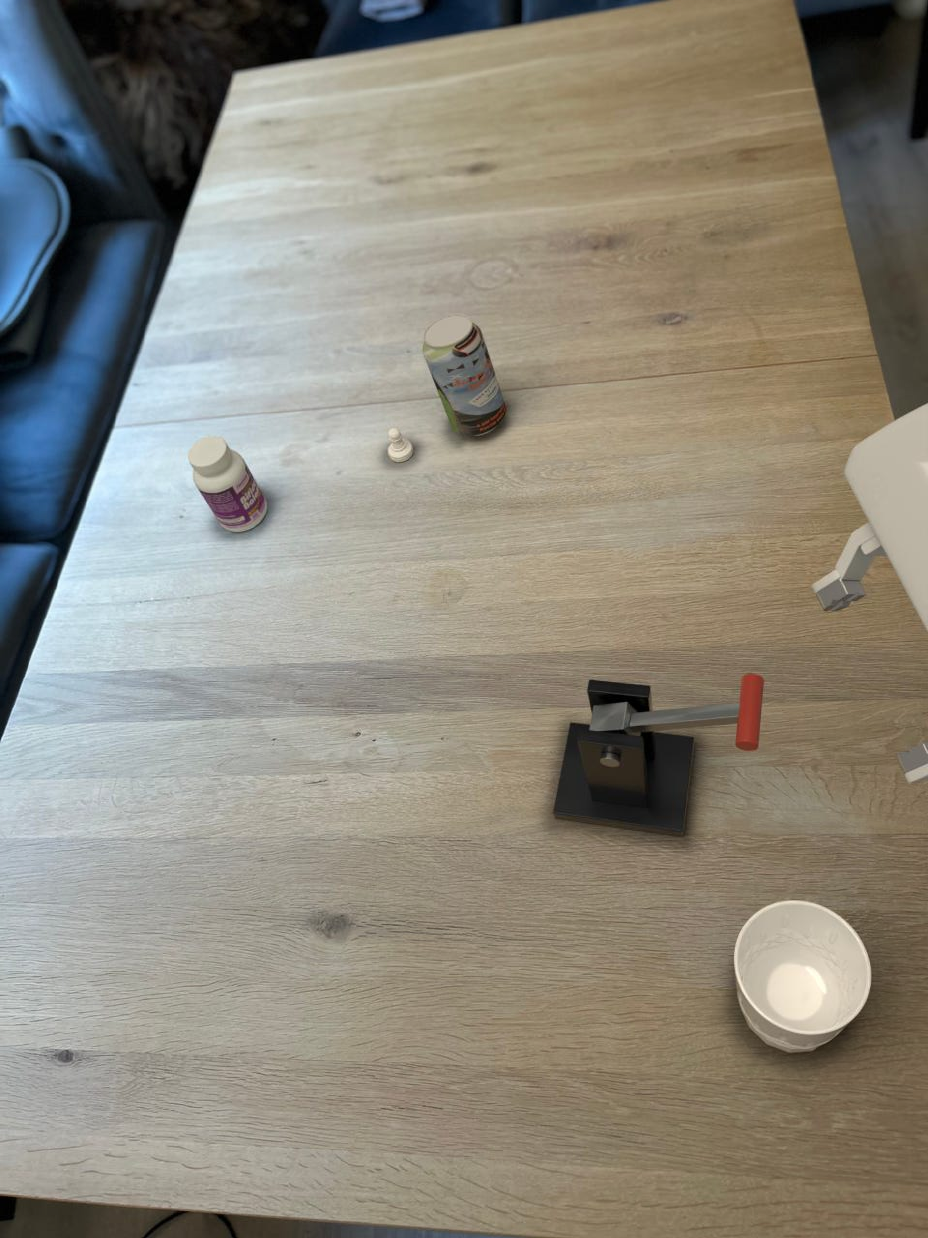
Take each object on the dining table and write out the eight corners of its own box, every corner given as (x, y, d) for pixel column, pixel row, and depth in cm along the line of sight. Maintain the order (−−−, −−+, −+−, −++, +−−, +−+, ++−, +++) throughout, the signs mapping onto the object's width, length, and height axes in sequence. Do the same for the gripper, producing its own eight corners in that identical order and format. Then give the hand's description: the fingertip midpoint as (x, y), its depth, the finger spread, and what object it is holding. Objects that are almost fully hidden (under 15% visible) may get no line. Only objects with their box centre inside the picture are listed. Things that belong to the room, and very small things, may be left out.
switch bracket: (694, 743, 80) (693, 670, 70) (682, 837, 76) (680, 775, 66) (571, 728, 83) (554, 657, 73) (554, 818, 79) (533, 756, 69)
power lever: (770, 686, 66) (755, 668, 65) (764, 753, 64) (749, 737, 62) (612, 703, 74) (596, 688, 72) (602, 764, 71) (585, 750, 70)
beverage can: (482, 453, 101) (458, 365, 91) (431, 425, 105) (403, 337, 95) (522, 414, 103) (502, 324, 93) (470, 388, 107) (446, 298, 97)
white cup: (852, 1071, 65) (874, 1044, 57) (728, 1053, 67) (731, 1024, 59) (848, 950, 69) (868, 907, 61) (731, 936, 71) (736, 893, 63)
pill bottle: (267, 529, 101) (231, 466, 93) (218, 538, 102) (178, 476, 94) (270, 489, 104) (234, 425, 96) (222, 498, 105) (183, 435, 97)
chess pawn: (410, 462, 102) (402, 439, 100) (387, 462, 103) (378, 439, 100) (416, 444, 104) (407, 420, 101) (392, 443, 104) (384, 420, 101)
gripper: (983, 321, 42) (742, 503, 52) (1272, 772, 34) (926, 888, 44) (1046, 347, 46) (811, 512, 56) (1318, 757, 38) (991, 867, 48)
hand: (863, 681), depth 50 cm, fingers open, 8 cm apart
